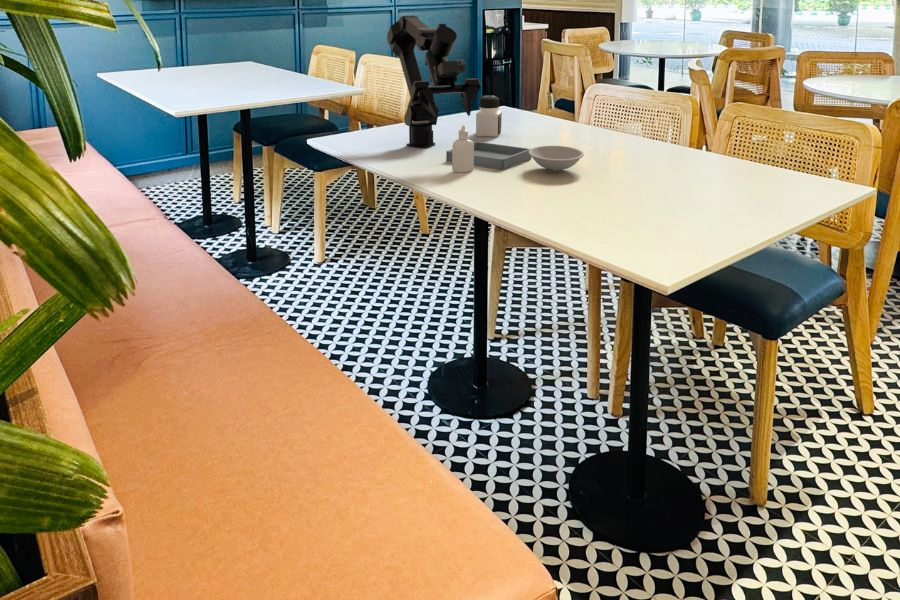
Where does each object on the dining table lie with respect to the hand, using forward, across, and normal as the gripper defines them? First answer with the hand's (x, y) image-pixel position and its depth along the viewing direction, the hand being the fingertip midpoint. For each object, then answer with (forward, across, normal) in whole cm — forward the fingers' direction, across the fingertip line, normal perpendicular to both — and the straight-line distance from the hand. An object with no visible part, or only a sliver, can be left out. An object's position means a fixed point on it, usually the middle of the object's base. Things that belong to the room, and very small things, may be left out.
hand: (453, 115), depth 220 cm
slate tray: (+8, +12, +11) cm, 18 cm away
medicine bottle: (-16, +26, +35) cm, 46 cm away
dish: (+20, +23, -1) cm, 31 cm away
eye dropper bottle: (+15, 0, +4) cm, 15 cm away
